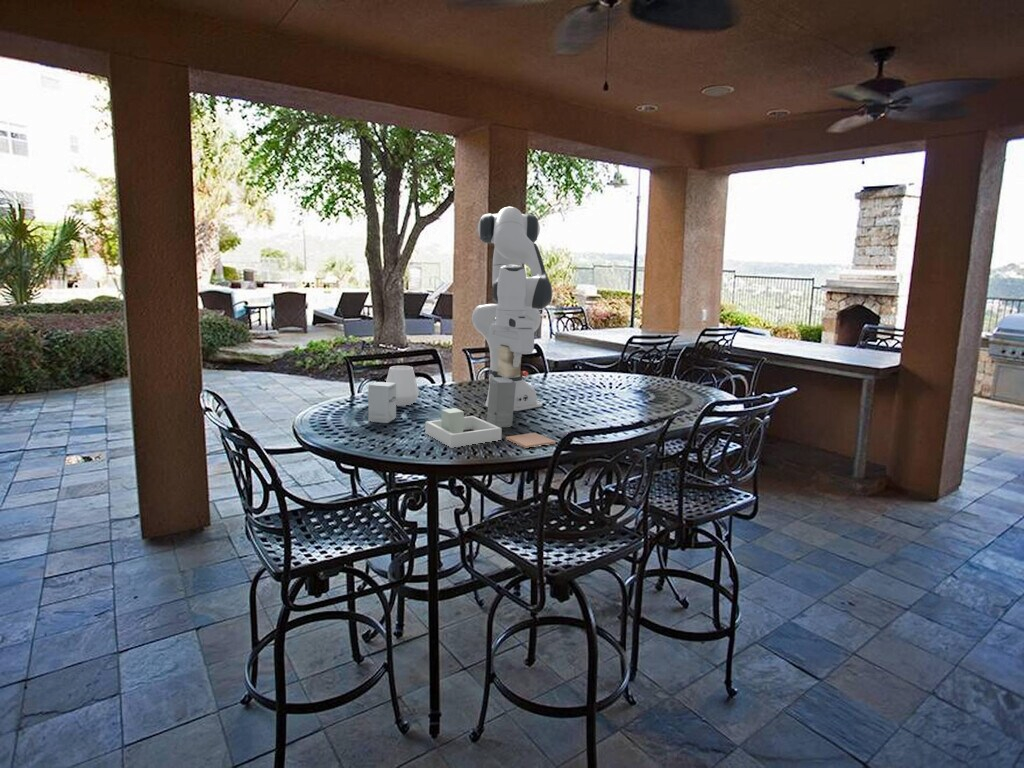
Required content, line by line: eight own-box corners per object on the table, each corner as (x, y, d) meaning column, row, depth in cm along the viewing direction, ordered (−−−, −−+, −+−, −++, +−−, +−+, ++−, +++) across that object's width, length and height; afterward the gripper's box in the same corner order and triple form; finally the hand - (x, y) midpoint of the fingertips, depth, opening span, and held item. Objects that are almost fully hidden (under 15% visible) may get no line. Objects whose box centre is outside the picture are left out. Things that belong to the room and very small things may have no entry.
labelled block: (511, 373, 193) (512, 343, 191) (520, 376, 189) (521, 345, 187) (497, 374, 190) (498, 344, 189) (506, 377, 186) (507, 346, 184)
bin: (473, 427, 206) (473, 415, 206) (501, 440, 192) (501, 428, 191) (425, 433, 197) (425, 421, 196) (451, 448, 183) (451, 435, 182)
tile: (534, 435, 199) (534, 432, 199) (555, 444, 190) (555, 441, 190) (505, 439, 193) (505, 436, 193) (525, 449, 184) (526, 445, 184)
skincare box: (486, 422, 214) (487, 377, 211) (505, 421, 217) (506, 376, 214) (495, 428, 206) (496, 381, 203) (515, 427, 209) (516, 380, 206)
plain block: (455, 435, 196) (455, 408, 194) (463, 439, 192) (463, 411, 190) (441, 437, 193) (441, 409, 191) (448, 442, 189) (449, 413, 187)
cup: (405, 398, 247) (405, 363, 245) (426, 404, 238) (426, 368, 236) (376, 402, 238) (376, 366, 235) (397, 409, 229) (397, 371, 226)
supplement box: (388, 423, 208) (388, 386, 205) (367, 421, 209) (367, 384, 207) (396, 418, 215) (396, 382, 213) (376, 416, 216) (376, 381, 214)
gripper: (484, 316, 193) (483, 360, 196) (520, 322, 176) (518, 370, 179) (501, 316, 197) (500, 360, 199) (538, 322, 180) (536, 369, 182)
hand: (509, 365), depth 189 cm, fingers closed on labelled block, 5 cm apart
